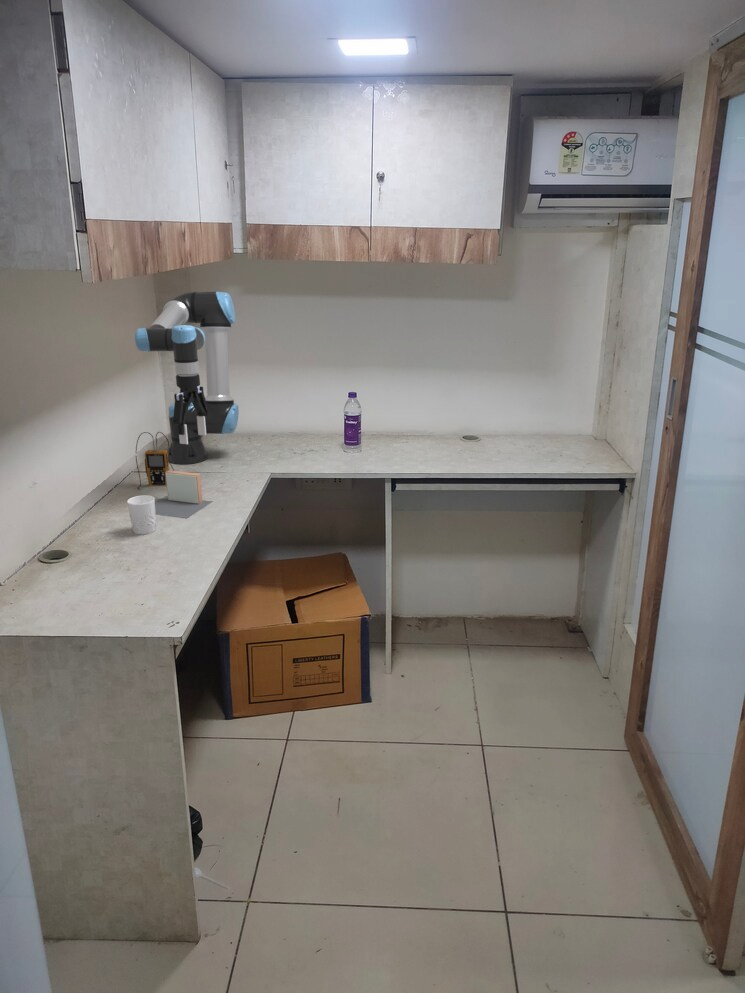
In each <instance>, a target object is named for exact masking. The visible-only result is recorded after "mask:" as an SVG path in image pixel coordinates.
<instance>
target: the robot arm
mask: <svg viewBox="0 0 745 993" xmlns="http://www.w3.org/2000/svg"><path fill="white" fill-rule="evenodd" d="M235 323H236V312H235V306H234V302H233V300H232V296H231V295H230V294H229V293H228V292H227V291H225V292H224V291H188V292H183V293H181V294H180V293H179V294H178V295H176V296H174V297H173V298H171V299H169V300H168V301H167V302H166V303H165V304H164V306H163V308H162V312H161V313H160V314H159V316H158V317H156V319H155V320H154V321H153V322H152V323H151V324H150V326H149V327H143V328H137V329H136V330H135V334H134V341H135V346H136V349H137V350H139V351H141V352H148V353H150V352H173V361H174V370H175V374H176V376H175V381H176V382H175V383H176V386H177V387H178V388H179V390H180V391H179V393H174V397H173V398H174V403H171V404H170V405H169V406H168V420H169V421H168V422H169V429H170V430H169V431H170V438H171V442H170V445H169V449H168V455H169V460H168V462H169V461H170V463H173V464H176V465H191V464H197V463H201V462H205V460H207V459H208V451H207V449H206V446H205V443H204V442H203V440H202V436H206V435H210V434H211V435H214V434H216V435H219V434H220V435H225V434H227V435H228V434H232V433H233V434H234V432H235V431H236V429H237V426H238V423H239V421H238V420H239V405H238V403H237V404H236V403H235V399H234V398H233V397H232V396H231V394H230V370H229V344H228V343H229V342H228V339H229V338H228V332H230V330H231V329H232V324H235ZM187 324H188V325H187ZM189 324H199V326H200V328H199V327H198V326H197V327H195V326H193V325H189ZM203 346H204V348H205V371H206V372H205V373H206V394H207V395H206V396H205V394H204V387H203V386H200V385H201V380H200V379H201V377H200V374H199V373H200V366H199V356H198V351H199V350H200V349H202V348H203Z"/></svg>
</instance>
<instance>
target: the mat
mask: <svg viewBox="0 0 745 993" xmlns="http://www.w3.org/2000/svg"><path fill="white" fill-rule="evenodd" d="M202 501H203V502H202V503H200V504H195V503H187V502H179V501H171V500H168V495H165V496H163V497H162V498H161V499H158V500H156V501H155V514H156V516H157V515H158V516H165V517H172V518H179V519H185V520H188V519H189V518H190V517H193V515H195V514H197V513H198V512H199V511H201V510H202V509H204V508H205V507H207V506H209V505H210V504H212V503H213V501H211V500H204V499H202Z"/></svg>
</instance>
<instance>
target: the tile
mask: <svg viewBox="0 0 745 993" xmlns="http://www.w3.org/2000/svg"><path fill="white" fill-rule="evenodd" d="M165 474H166V483H167V486H166V492H167V496H168V500H171V501H179V502H187V503H195V504H200V503H202V502H203V501H202V500H203V492H202V491H203V490H202V480H201V473H198V472H197V473H196V472H187V471H179V470H178V471H177V470H170V469H169V470H168V471H166V472H165Z"/></svg>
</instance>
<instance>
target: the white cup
mask: <svg viewBox="0 0 745 993" xmlns="http://www.w3.org/2000/svg"><path fill="white" fill-rule="evenodd" d="M155 502H156V501H155V497H154V496H153V495H136V496H133V497H129V499H127V507H128V513H129V518H130V523H131V528H132V533H133V534H136V535H149V534H151V533H154V532H155V531H157V530H156V529H157V526H156V521H157V518H156V516H157V515H156V514H155Z"/></svg>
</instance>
